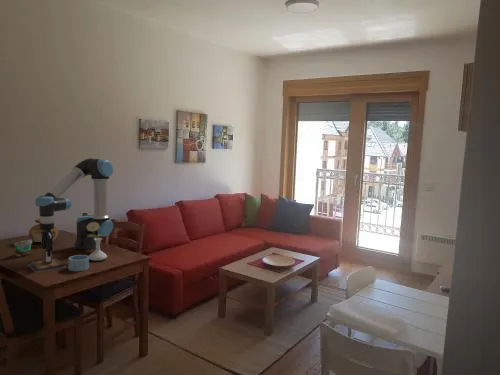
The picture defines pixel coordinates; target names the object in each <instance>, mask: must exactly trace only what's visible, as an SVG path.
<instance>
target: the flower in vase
mask: <svg viewBox="0 0 500 375" xmlns="http://www.w3.org/2000/svg"><path fill="white" fill-rule="evenodd" d="M86 228H87V230H89V231H93V233H94V231H96V230H98V229H99V224H98V223H96V222H93V223H92V222H91V223H89V224H88V225H87V226H86ZM101 235H102V233H101V234H99V235H93V234H89V235H88V236H87V237H93V236H94V237H95V239H94V240H95V242H96V248H95V250H94V251H93V252H91V253H90V254H89V255H88V256H89V261H90V260H91V261H95V262H97V261H104V260H106V259H107V258H108V255H107V254H106V253H105V252H104V251H102V250H101V241H102V240H103V238H101V237H102V236H101Z"/></svg>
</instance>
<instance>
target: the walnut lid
mask: <svg viewBox="0 0 500 375" xmlns="http://www.w3.org/2000/svg"><path fill="white" fill-rule="evenodd" d="M45 251H46V249H45V250H43V249H42V253H41V254H42V255H41V256H42V260H36V261H30V264H31V265H32V266H34V267H35V268H36V269H37V270H43V269H48V268H54V267H59V266H64V265H65V264H64V263H63V262H62V261H60V259H58V258H56V257H54V258H53V250H52V251H51V261H50V262H46V252H45Z"/></svg>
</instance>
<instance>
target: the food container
mask: <svg viewBox="0 0 500 375" xmlns="http://www.w3.org/2000/svg"><path fill="white" fill-rule="evenodd" d="M32 244H33V241H32V239H31V238H30V237H29V238H28V237H27V239H26V240H20V241H19V242H18V241H14V243H13V246H14V251H15V257H16V258H26V257H28V256H29V257H30V255H31V249H32Z"/></svg>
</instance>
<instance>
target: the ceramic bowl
mask: <svg viewBox="0 0 500 375" xmlns="http://www.w3.org/2000/svg"><path fill="white" fill-rule="evenodd" d="M67 264H68V265H67V266H68V267H67V269H68V271H70V272H82V271H86V270H88V269H89V268H90V259H89V255H86V254H77V255H76V254H75V255H72V256H69V257H68V261H67Z"/></svg>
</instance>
